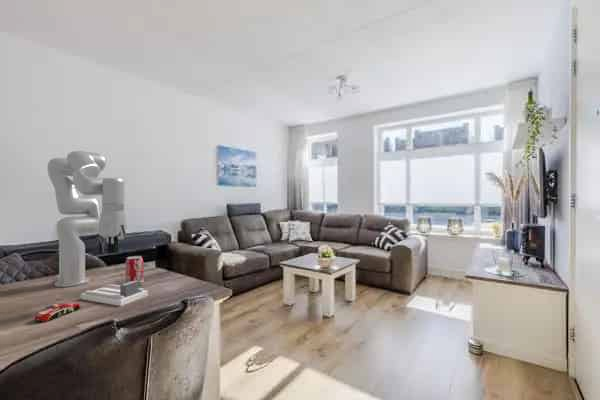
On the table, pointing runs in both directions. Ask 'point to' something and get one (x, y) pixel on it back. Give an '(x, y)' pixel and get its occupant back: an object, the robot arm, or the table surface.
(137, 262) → the soda can
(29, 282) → the table surface
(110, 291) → the fader console
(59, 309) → the race car
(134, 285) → the fader tab
